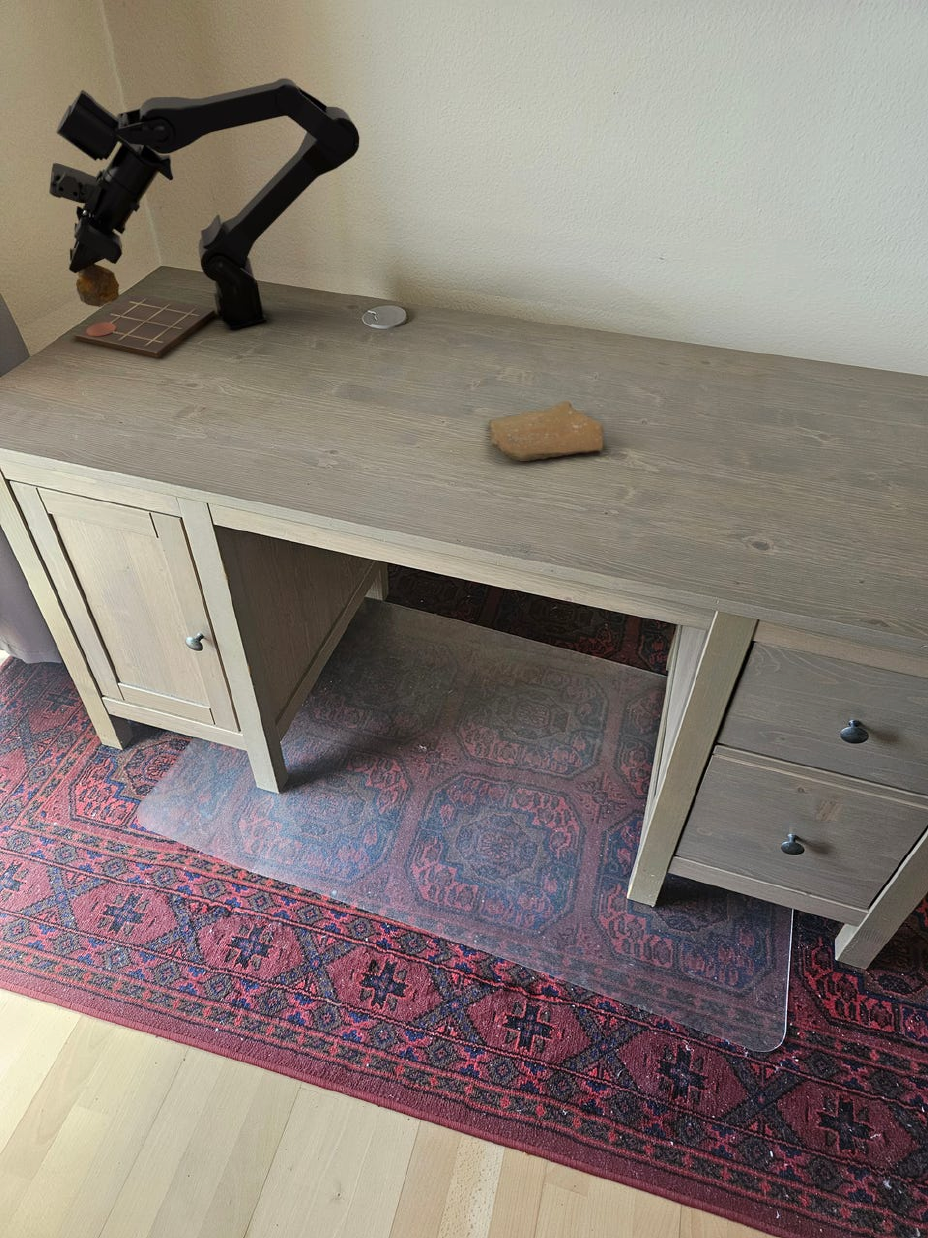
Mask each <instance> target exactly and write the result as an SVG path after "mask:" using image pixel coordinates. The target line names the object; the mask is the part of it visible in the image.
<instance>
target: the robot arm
mask: <svg viewBox="0 0 928 1238" xmlns="http://www.w3.org/2000/svg"><path fill="white" fill-rule="evenodd" d="M281 117H288V118H289V119H290V120H292V121H293V122H294V123H296V124H297V125H298V126H299V127H301V128H302V129H303V130H304V131H305V132H306V133H305V135H304V137H303V140H302V141H301V144H300V146H299V148H298V150H297V151H296V152H295V153H294V155H293V156H291V158H289V160H288V161H287V162H286V163H285V164H284V165H283V166H282V167H281V168H280V169H279V170H278V171H277V172H276V173H275V175H274V176H273V177H272V178H270V179H269V180H268V182H267V183H266V184H265V185H264V186H263V187H262V188H261V189H260V190H259V191H258V192H257V193H256V195H255V196H253V197H252V199H251V200H250V201H249V202H248V203H247V204H246V205H245V206H244V207H243V208H242V209H241V210H240V211H239V212H238V214H236V215H235V216H233V217H232V218H229V219H227V220H223V218H222V217H221V216H220V214H217V215H216V216H215V217H214V219H213V220H212V221H211V223H210V225H209V226H208V227H206V228H204V229H202V230H201V231H200V236H201V238H200V239H199V242H198V254H199V262H200V267H201V270H202V272H203V274H204V275H205V276H206V277H207V278H208V279H210V280H211V281H213V282H214V284H215V290H216V291H215V292H214V294H213V296H214V301H215V305H216V310H217V315H218V317H219V319H220V320H221V321H222V323H224V324H225V325H226V326H227V327H228V329H230V330H237V329H241V328H243V327H248V326H252V325H257V324H262V323H266V322H267V321H268V318H267V317H266V315H265V314H264V312H263V306H262V300H261V295H260V288H259V283H258V281H257V280H256V278H255V275H254V270H253V267H252V262H251V259H250V257H249V255H250V253H251V250H252V248H253V246H254V244H255V243H256V241H257V240H258V239H260V237H261V236H262V235H263V234H264V233H265V232H266V230H268V228H269V227H271V225H272V224H273V223H275V221H276V220H278V218H279V217H280V216H281V215H282V214H283V213H284V212H285V211H286V210H287V209H288V208H289V207H290V206H291V205H293V203H294V202H295V201H296V200H297V199H298V198H299V197H300V196H301V195H302V194H303V193H304V192H305V191H306V190H307V189H308V187H310V185H311V184H312V183H313V182H314V181H315V180H316V179H318V178H319V177H320V176H322V175H325V174H327V173H330V172H332V171H334V170H337V169H338V168H339V167H341V166H342V165H344V164H345V163H346V162H348V161H349V160H350V159H352V158H353V157H354V156H355V155H356V154H357V152H358V150H359V148H360V134H359V130H358V129H357V127H356V125H355V123H354V122H353V120H352V119H351V117H350V116H349V114H348V113H347V111H345V110H344V109H343V108H341V107H338V106H329V105H326V104H324V103H323V102H322V101H321V100H319V99H318V98H317V97H315V96H314V95H312V94H310V93H309V92H307V91H306V90H304V89H302V88H301V87H300V86H298V85H297V83H296V82H294V81H293V80H292V79H290V78H287V77H285V78H283V77H281V78H279V79H277V80H275V81H273V82H269V83H264V84H259V85H255V86H251V87H247V88H242V89H238V90H232V91H228V92H224V93H219V94H214V95H211V96H206V97H201V98H188V97H182V96H181V97H180V96H155V97H150V98H148V99H146V100H145V101H144V102H143V103H142V105H141V107H140V108H135V109H132V110H128V111H125V112H120V113H117V114H116V115H114V114H113V113H112V112H111V111H109V110H108V109H107V108H105V107H104V106H103V105H102V104H100V103H99V102H98V101H97V100H95V98H94V97H93V96H92V95H91V94H89V93H88V92H87V91H86V90H84V89H81V90H80V92H79V93H78V95H77V97H75V99H74V100H73V102H72V103H71V104H69V105H68V106H67V108H66V110H65V112H64V114H63V116H62V117H61V119H60V121H59V124H58V126H57V129H56V132H55V133H56V134H57V135H59V136H60V137H62V138H63V139H64V140H65V141H67V142H68V143H70V144H71V145H72V146H74V147H75V148H76V149H77V150H79V151H81V152H82V153H83V154H85V155H86V156H87V157H88V158H90V159H92V161H97V160H99V161H101V162H102V161H103V160H105V161H106V160H108V159H109V158H110V156H111V155H112V153H113V152H114V150H115V148H116V147H117V145H118V143H120V146H119V148H118V149H117V150H116V152H115V153H114V155H113V157H112V159H111V160H110V162H109V164H108V166H107V167H106V168H105V169H102V170H100V169H99V171H98V173H97V174H96V176H94V175H91V174H88V173H87V172H85V171H83V170H79V169H76V168H73V167H70V166H67V165H64V164H61V163H57V162H53V163H52V167H51V173H50V180H49V181H50V182H49V191H48V192H49V195H51V196H53V197H54V198H58V199H61V198H62V199H65V200H68V201H71V202H74V203H75V202H76V203H79V204H84V205H83V206H82V207H81V206H79V205H77V206H76V209H75V210H76V211H75V214H76V218H77V220H78V223H76V222H74V228H73V231H74V233H73V234H74V235H73V238H74V239H75V242H74V245H73V248H72V250H73V249H74V248H76V249H75V252H74V255H73V257H72V260H71V262H70V263H69V267H68V270H69V271H70V272H71V273H73V274H78V273H79V271H81V270H83V269H85V268H87V267H89V266H91V265H93V264H97V263H99V262H101V261H103V260H106V261H108V262H109V263H111V264H114V265H116V264H117V263H118V262H119V260H120V258H121V257H122V255H123V243H122V240H121V236H120V235H119V234H121V235H123V234H124V233H125V231H126V229H127V228H126V227H127V226H126V224H127V222H128V221H129V219H130V218H131V216H132V215H133V213H134V212H136V213H137V212H138V210H139V208H140V207H141V200H142V199H143V197H144V195H145V194H146V193H147V192H148V189H149V188H150V187H151V184H152V183H153V181H154V180H155V178H156V177H157V175H158V174H161V175H162V176H163V177H165V178H166V179H168V180H169V181H173V180H174V170H173V168H172V159H171V158H172V157H171V155H170V154H172V153H174V152H177V151H178V150H180V149H184V148H185V147H188V146H190V145H192V144H193V143H195V142H197V140H199V139H201V138H202V137H204V136H206V135H208V134H212V133H215V132H219V131H223V130H228V129H233V128H237V127H241V126H246V125H251V124H255V123H259V122H263V121H268V120H272V119H276V118H281ZM116 232H118V233H119V234H117V233H116Z"/></svg>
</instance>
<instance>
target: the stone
mask: <svg viewBox="0 0 928 1238" xmlns="http://www.w3.org/2000/svg"><path fill="white" fill-rule="evenodd" d="M487 425H488V427H489V432H490V435H491V436H490V438H491V439H490V441H491V446H492V447H493V448H494V449H497V450H499V451H501V452H503V453H504V454H505V455H506V456H507V457H509V458H510V459H512V460H515V461H521V462H529V461H535V460H546V459H548V458H557V457H562V456H569V455H575V454H579V453H583V454H587V453H591V452H602V451H603V449H604V440H603V433H604V428H603V425H602V424H601V423H600V422H599V421H596V420H595V419H592V418H590V417H589V416H587V415H586V414H583V413H582V412H580V411H578V410H577V409H575V408H573V406H572V404H571V402H569V401H566V400H564V401H562V402H560V403H559V402H558V404H555V405H553V406H551V407H548V408H543V409H539V410H535V411H534V410H533V411H529V412H525V413H519V414H517V415H511V416H504V417H500V418H499V417H498V418H493V419H489V421H488V422H487Z"/></svg>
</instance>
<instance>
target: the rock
mask: <svg viewBox="0 0 928 1238" xmlns="http://www.w3.org/2000/svg"><path fill="white" fill-rule="evenodd" d="M73 248H74V247H73ZM73 248H69V262H70V263H71V260H72V257H73V255H74V252H75V249H76V248H74V249H73ZM77 277H78V278H77V280H76V282H75V286H76V291H77V294H78V296H79V300H80V301H81V302H82V303H83V304H85V305H87V306H91V307H98V308H101V307H104V306H105V305H107V304H109V303H110V302H114V301H116V300H118V297H119V296H120V293H119V289H120V288H119V287H120V283H119V282H118V281H117V278H116V276H115V272H113V271H112V270H111V269H109V268H106V267H103V266H102V265H99V264H97V263H95V264H93V265H91V266H89V267H87V268H85V269H83V270H81V271H79V272H77Z"/></svg>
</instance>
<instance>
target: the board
mask: <svg viewBox="0 0 928 1238" xmlns="http://www.w3.org/2000/svg"><path fill="white" fill-rule="evenodd" d="M215 316H216V311H215V309H212V308H207V307H202V306H197V305H193V304H188V303H187V304H186V303H181V302H178V301H177V302H176V301H172V300H166V299H163V298H157V297H153V296H152V297H151V296H146V295H141V294H134V295H133V296H131V297H130V298H128V299H126V300H125V301H123V302H122V303H121V304H119V305H117V306H116V307H114V308H113V309H112V310H110V311H108V312H107V313H105V314H104V315H102V316H101V317H99V318H97V319H96V320H94V321H93V322H92V323H90V324H89V325H87V326H85V327H84V328H82V329H81V330H80V331H78V332H76V333H75V334H74V337H75V340H76V341H78V342H83V343H87V344H91V345H96V346H101V347H105V348H109V349H115V350H119V351H123V352H128V353H133V354H137V355H142V356H146V357H151V358H155V359H160V358H162V357H163V356H164V355H165V354H167V353H168V352H169V351H170V350H172V349H173V348H175V347H176V346H178V344H180V343H181V342H183V341H184V340H185V339H186V338H188V337H189V336H190V335H191V334H193V333H194V332H195V331H197V330H198V329H199V328H200V327H202V326H203V325H204V324H206V323H207V322H209V321H210V320H211V319H212V318H214V317H215Z"/></svg>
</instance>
